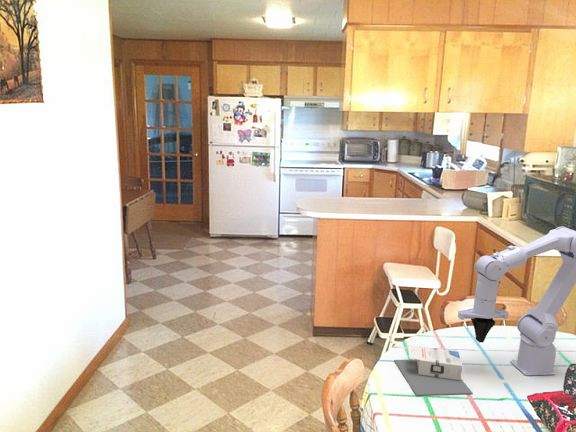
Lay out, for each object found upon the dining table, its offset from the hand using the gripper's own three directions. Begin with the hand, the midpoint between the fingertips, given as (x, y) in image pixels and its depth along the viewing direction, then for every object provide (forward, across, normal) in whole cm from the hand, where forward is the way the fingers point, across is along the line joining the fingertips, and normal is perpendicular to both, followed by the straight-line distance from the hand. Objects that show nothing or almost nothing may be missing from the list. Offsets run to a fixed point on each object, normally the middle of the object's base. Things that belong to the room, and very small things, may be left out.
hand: (479, 340), depth 136 cm
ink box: (+7, +6, +2) cm, 9 cm away
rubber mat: (+10, +15, +2) cm, 18 cm away
